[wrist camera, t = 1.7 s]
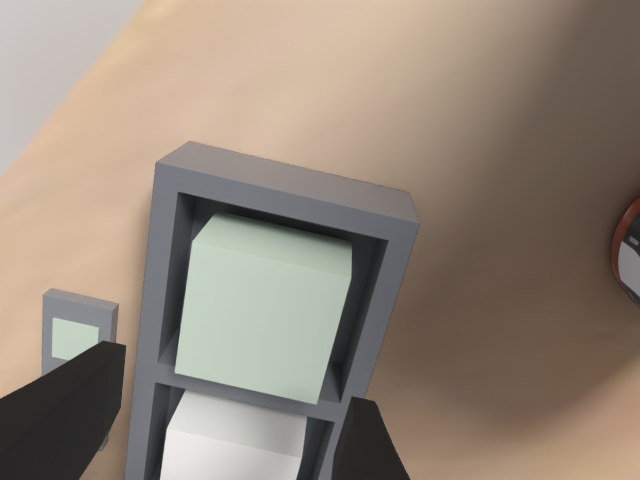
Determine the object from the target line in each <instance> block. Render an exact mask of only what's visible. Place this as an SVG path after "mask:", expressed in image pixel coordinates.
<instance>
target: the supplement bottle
mask: <svg viewBox="0 0 640 480" xmlns="http://www.w3.org/2000/svg"><path fill="white" fill-rule="evenodd" d="M611 264H612V269H613V273H614V275H615V278H616V280H617V281H618V283H619V285H620V286H621V287H622V289H623V290H624V291H625V292H626V293H627V294H628V296H629V297H630V299H631V300H633V302H634V303H636V304H637V305H638V306H639V307H640V196H639V197H638V198H637V199H636V200H635V201H634V202H633V203H632V204H631V205H630V206H629V208H628V209H627V211H626V212H625V213H624V214H623V216H622V218H621V219H620V221H619V223H618V225H617V228H616V229H615V232H614V237H613V240H612V246H611Z"/></svg>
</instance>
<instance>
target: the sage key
mask: <svg viewBox="0 0 640 480" xmlns="http://www.w3.org/2000/svg"><path fill="white" fill-rule="evenodd" d="M351 267H352V242H351V241H346V240H342V239H338V238H333V237H329V236H325V235H320V234H316V233H312V232H307V231H303V230H299V229H295V228H290V227H286V226H282V225H277V224H273V223H269V222H264V221H260V220H256V219H251V218H247V217H243V216H238V215H234V214H230V213H225V212H221V211H216V213H215V214H214V215H213V216H212V218H211V219H210V220H209V221H208V223H207V224H206V225H205V226H204V228H203V229H202V230H201V231H200V233H199V234H198V235H197V236H196V238H195V239H194V240H193V241H192V248H191V255H190V262H189V270H188V277H187V285H186V292H185V299H184V307H183V314H182V321H181V329H180V336H179V343H178V351H177V358H176V366H175V373H177V374H182V375H186V376H191V377H195V378H200V379H204V380H209V381H213V382H218V383H222V384H227V385H231V386H235V387H240V388H244V389H249V390H253V391H258V392H262V393H267V394H271V395H276V396H280V397H285V398H289V399H294V400H298V401H303V402H307V403H311V404H316V405H317V401H318V398H319V394H320V390H321V387H322V383H323V379H324V376H325V372H326V368H327V365H328V361H329V358H330V354H331V350H332V347H333V343H334V339H335V336H336V332H337V328H338V325H339V321H340V317H341V314H342V310H343V306H344V303H345V299H346V296H347V292H348V288H349V285H350V281H351Z"/></svg>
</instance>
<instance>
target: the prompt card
mask: <svg viewBox="0 0 640 480" xmlns="http://www.w3.org/2000/svg"><path fill="white" fill-rule="evenodd" d="M117 317H118V304H117V303H113V302H108V301H104V300H99V299H95V298H90V297H86V296H82V295H77V294H73V293H68V292H64V291H59V290H55V289H50V290H48V291H47V292H46V293H45V294H43V322H42V376H44V375H45V374H47V373H49V372H50V371H52V370H54V369H56V368H57V367H59V366H61V365H62V364H64V363H66V362H67V361H69V360H71V359H72V358H74V357H76V356H77V355H79V354H81V353H82V352H84V351H86V350H87V349H89V348H91V347H92V346H94V345H96V344H98V343H99V342H101V341H103V340H104V341H108V342H113V343H115V342H116V329H117ZM107 442H108V434H107V436H106V438H105V440H104V442H103V443H102V445H101V447H100V448H99V450H100V451H102V450H103V449H104V447H105V445H106V444H107Z"/></svg>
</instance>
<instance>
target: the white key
mask: <svg viewBox="0 0 640 480" xmlns="http://www.w3.org/2000/svg"><path fill="white" fill-rule="evenodd" d="M306 422H307V416H305V415H300V414H296V413H291V412H287V411H282V410H278V409H273V408H269V407H264V406H260V405H255V404H251V403H246V402H242V401H237V400H233V399H228V398H224V397H219V396H215V395H210V394H206V393H201V392H197V391H193V390H188V389H186V390H185V392H184V394H183V396H182V398H181V400H180V402H179V405H178V407H177V409H176V411H175V413H174V415H173V417H172V419H171V421H170V423H169V425H168V427H167V432H166V439H165V446H164V454H163V461H162V469H161V476H160V480H296V478H297V474H298V471H299V467H300V463H301V460H302V453H303V445H304V438H305V430H306Z"/></svg>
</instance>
